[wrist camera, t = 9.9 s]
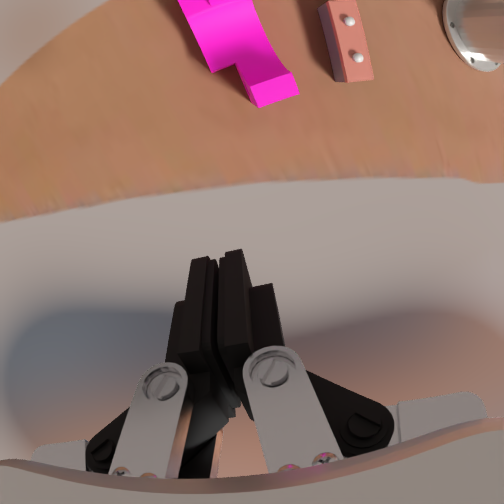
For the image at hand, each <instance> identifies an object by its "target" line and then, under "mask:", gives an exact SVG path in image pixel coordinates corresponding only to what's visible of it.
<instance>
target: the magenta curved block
mask: <svg viewBox="0 0 504 504" xmlns="http://www.w3.org/2000/svg"><path fill="white" fill-rule="evenodd" d="M178 2H179V4H180V6H181V8H182V10H183V12H184V15H185V17H186V19H187V21H188V23H189V25H190V27H191V29H192V31H193V33H194V35H195V37H196V39H197V42H198V44H199V46H200V48H201V50H202V52H203V55H204V57H205V59H206V61H207V63H208V66H209V68H210V70H211V72H212V73H214V72H217V71H219V70H222V69H224V68H227V67H229V66H232V65H234V64H235V66H236V68H237V70H238V73H239V75H240V77H241V80H242V82H243V84H244V87H245V89H246V91H247V94H248V96H249V99H250V101H251V103H252V104H254V105H255V106H257V107H258V108H260V107H263V106H265V105H268V104H271V103H274V102H277V101H279V100H282V99H285V98H288V97H291V96H294V95H297V94H300V93H299V90H298V88H297V85H296V82H295V80H294V77H293V75H292V72H290V71H288V70H287V69H286V68H285V67H284V65H283V64H282V63H281V61H280V60H279V58H278V57H277V55H276V54H275V52H274V50H273V48H272V47H271V45H270V43H269V41H268V39H267V37H266V35H265V32H264V30H263V28H262V26H261V23H260V21H259V19H258V16H257V14H256V11H255V8H254V5H253V2H252V0H178Z"/></svg>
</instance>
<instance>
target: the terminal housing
mask: <svg viewBox="0 0 504 504" xmlns="http://www.w3.org/2000/svg"><path fill="white" fill-rule="evenodd" d="M317 9H318V13H319V16H320V20H321V24H322V28H323V31H324V35H325V39H326V43H327V47H328V52H329V56H330V60H331V65H332V69H333V74H334V79H335V82H356V81H365V80H374V77H373V71H372V66H371V61H370V56H369V52H368V47H367V42H366V38H365V34H364V30H363V26H362V22H361V18H360V14H359V10H358V7H357V3H356V0H337V1H327V2H326V3H324V4H323V5H321V6H320V7H318V8H317Z"/></svg>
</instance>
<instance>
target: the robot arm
mask: <svg viewBox="0 0 504 504" xmlns="http://www.w3.org/2000/svg"><path fill="white" fill-rule="evenodd" d="M443 22H444V27H445V30H446V33H447V36H448V38H449V41H450V43H451V45H452V46H453V48H454V50H455V52H456V53H457V54H458V55H459V57H460V58H461V59H462V60H463V61H464V62H465V63H466V64H467V65H469V66H470V67H471V68H474V69H476V70H479V71H485V72H489V71H493V70H495V69H497V68H498V67H499V66H500V64H501V63H502V64H504V0H445V1H444V4H443ZM241 402H242V404H243V406H244V408H245V410H246V411H247V414H248V416H249V417H250V419H251V420H253V421H254V422H255V425H256V429H257V432H258V436H259V439H260V443H261V447H262V451H263V454H264V458H265V461H266V465H267V468H268V472H269V473H268V474H260V475H251V476H240V477H227V478H217V474H218V467H219V460H220V454H221V447H222V440H223V427H224V426H225V425H226V424H227V423H228V422H229V418H231V417H236V414H235V408H237V407H240V406H241ZM0 504H504V417H494V418H487V414H486V409H485V406H484V404H483V401H482V400H481V399H480V398H479V397H478V396H477V395H476V394H473V393H471V392H458V393H453V394H448V395H442V396H436V397H430V398H423V399H417V400H409V401H401V402H398V404H397V405H392V406H383V405H381V404H380V403H378V402H375V401H373V400H371V399H369V398H366V397H364V396H362V395H359V394H357V393H355V392H352V391H350V390H348V389H346V388H343V387H341V386H339V385H337V384H334V383H332V382H330V381H328V380H326V379H324V378H321V377H320V376H317V375H315V374H313V373H311V372H309V371H307V370H305V368H304V366H303V364H302V361H301V359H300V357H299V356H298V355H297V353H296V352H294V351H293V350H291V349H290V348H287V347H285V343H284V338H283V333H282V327H281V322H280V318H279V312H278V307H277V303H276V298H275V293H274V289H273V284H272V283H270V284H265V285H260V286H255V287H252V284H251V280H250V277H249V273H248V269H247V266H246V262H245V258H244V254H243V251H242V249H238V250H234V251H229V252H226V253H225V257H222V258H220V260H219V267H218V264H217V261H216V260H215V259H213V260H210V258H209V257H208V256H206V257H201V258H197V259H192V261H191V266H190V271H189V277H188V283H187V289H186V296H185V300H184V301H179V302H176V304H175V307H174V312H173V318H172V323H171V329H170V335H169V341H168V347H167V353H166V359H165V363H160V364H158V365H155V366H153V367H151V368H150V369H149V370H147V371H146V372H145V373H144V374H143V375H142V377H141V379H140V381H139V382H138V385H137V388H136V391H135V394H134V397H133V400H132V402H131V405H130V407H129V408H128V409H127V410H125V411H124V412H123V413H122V414H121V415H119V416H118V417H117V418H116V419H115V420H113V421H112V422H111V423H110V424H108V425H107V426H106V427H105V428H104V429H102V430H101V431H100V432H99V433H98V434H96V435H95V436H94V437H93V438H92V439H91V440H90V441H89V442H88V441H87V440H85V439H84V440H78V441H71V442H64V443H56V444H48V445H43V446H40V447H38V448H37V449H36V450H35V451H34V453H33V455H32V457H31V461H29V460H23V459H6V460H0Z"/></svg>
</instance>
